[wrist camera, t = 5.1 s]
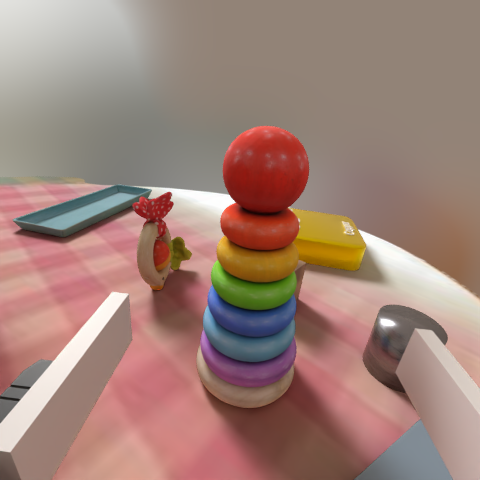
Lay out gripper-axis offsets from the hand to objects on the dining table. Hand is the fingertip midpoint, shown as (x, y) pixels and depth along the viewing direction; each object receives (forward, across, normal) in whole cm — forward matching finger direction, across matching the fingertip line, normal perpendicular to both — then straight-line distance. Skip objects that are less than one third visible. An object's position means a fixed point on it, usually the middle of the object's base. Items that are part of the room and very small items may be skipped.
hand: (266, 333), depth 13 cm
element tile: (+35, +10, -11) cm, 38 cm away
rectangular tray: (+39, -30, -11) cm, 51 cm away
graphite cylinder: (+9, +13, -10) cm, 19 cm away
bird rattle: (+19, -11, -10) cm, 24 cm away
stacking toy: (+7, 0, -10) cm, 12 cm away
